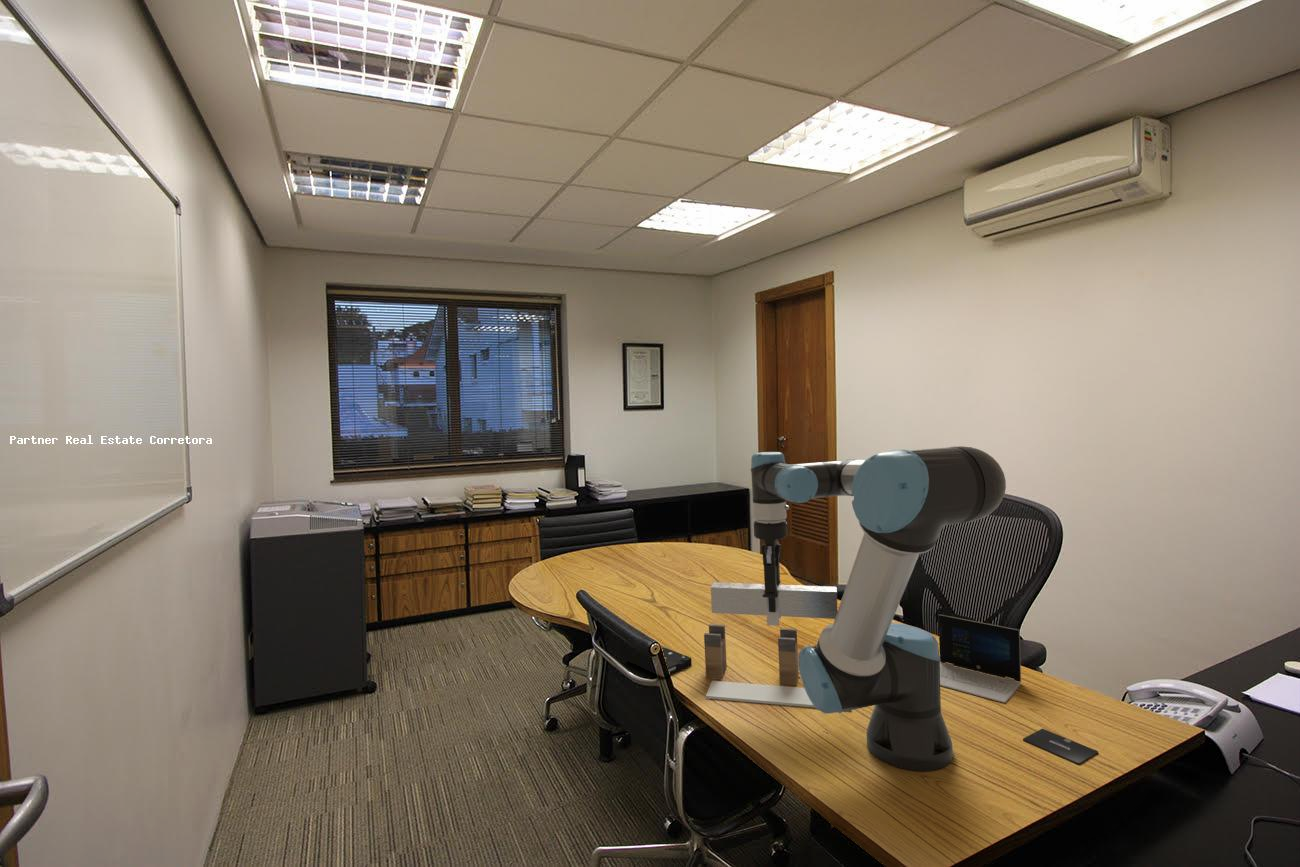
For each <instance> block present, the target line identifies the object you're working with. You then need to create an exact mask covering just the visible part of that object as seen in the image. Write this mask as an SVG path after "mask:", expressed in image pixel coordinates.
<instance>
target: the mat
mask: <svg viewBox="0 0 1300 867" xmlns="http://www.w3.org/2000/svg"><path fill="white" fill-rule="evenodd" d="M705 699H706V700H707V699H709V700H710V699H711V700H718V701H719V700H721V701H730V702H731V701H732V702H733V701H735V702H744V703H755V704H764V705H765V704H766V705H767V704H768V705H769V704H770V705H776V706H777V705H779V706H787V707H788V706H790V707H791V706H792V707H802V708H813V709H817V708H816V707H815V706H814V705H813V704H812V702H811V701H810V699H809V697H808V695H807V693H806V691H805V688H804V687H797V686H796V687H795V686H784V685H773V684H772V685H771V684H758V683H748V682H746V683H744V682H733V681H721V680H720V681H719V680H711V682H710V685H709V687H708V689H707V692H706V695H705ZM848 712H852V710H849V711H848Z"/></svg>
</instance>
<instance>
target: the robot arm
mask: <svg viewBox="0 0 1300 867" xmlns="http://www.w3.org/2000/svg"><path fill="white" fill-rule="evenodd" d="M786 462H787V461H786V460H785V455H784V453H783V452H780V451H763V452H756V453H753V454H752V456H751V462H750V465H751V466H750V473H751V490H752V491H751V492H752V518H753V519H754V520H755V521H754V522H753V537H754V538H756V539H758V540H763V541H764V543H762V546H761V555H762V565H763V578H764V584H765V594H763V597H766V612H767V616H766V626H773V627H775V626H776V627H780V620H781V618H782V616H779V600H778V594H777V585H781V574H780V573H781V572H780V562H781V551H782V550H781V549H782V548H781V544H780V542H779V541H778V540H783V539H786V538H787V537H788V535H789V534H788V533H789V532H788V522H787V520H786V519H787V518H788V517H787V516H788V514H787V510H790V506H789V505H787V502H790V503H799V504H800V503H802V504H803V503H806V502H808V501H810V500H811V499H820V498H826V497H841V496H842V497H843V496H844V497H845V496H847V497H853V499H852V501H851V505H852V509H853V512H854V514H855V517H856V519H857V520H858V523H859V526H860V528H861V530H862V532H863V536H862V539H861V542H860V545H859V547H858V550H857V554H856V556H855V560H854V562H853V565H852V569H851V571H850V574H849V577H848V579H847V580H848V581H847V582H846V586H845V589H844V592H843V595H842V597H841V600H840V604H839V606H838V608H837V615H836V618H835V619H834V621H833V623H830V624H828V625H826V626H825V627H824V628H823V629H822V631H821V633H820V634H819V638H818V640H817V642H816V645H813V646H811V645H807V646H806V647H803V648H802V649H800V651H799V653H798V672H799V676H800V679H801V683H802V685H803V688H805V691H806V693H807V695H808V697H809V699H810V701H811V702H812V704H813V705H814V706H815V707H816V708H815V709H817V710H818V711H820V712H821V713H823V714H834V713H837V714H838V713H839V714H841V713H843V712H850V711H849V710H853V711H854V710H859V709H862V708H863V709H864V708H868V707H872V706H873V710H872V713H871V716H870V720H869V722H868V725H867V729H866V745H867V748H868V750H869V751H870V752H871V753H872V754H873V756H875V757H876V758H878V759H879V760H881V761H882V762H885V764H887V765H891V766H894V767H897V768H901V769H903V770H904V769H905V770H908V771H909V770H910V771H920V772H926V771H927V772H928V771H935V770H940V769H942V768H944V767H946V766H948V765H949V764H951V762H952V761H953V757H954V756H953V755H954V753H953V752H954V751H953V749H954V748H953V746H954V745H953V742H952V738H951V736H950V733H949V730H948V728H947V725H946V723H945V719H944V717H943V714H942V706H941V705H942V704H941V703H942V702H941V699H942V698H941V686H940V663H941V662H940V648H939V641H938V640H937V639H936V637H935V636H934V635H933V634H931V633H930V632H928V631H927V630H924V629H922V628H920V627H917V626H913V625H909V624H906V623H905V624H904V623H899V622H893V620H894V617H895V615H896V613H897V610H898V608H899V605H900V602H901V600H902V598H903V595H904V593H905V590H906V588H907V586H908V583H909V580H910V578H911V576H912V573H913V571H914V569H915V567H916V563H917V561H918V559H919V556H920V555H921V554H925V553H928V552H929V551H931V550H933V548H934V547H935V546H936V544H937V541H938V539H939V537H940V535H941V532H942V530H943V528H944V527H945V526H948V525H949V526H950V525H957V524H965V523H971V522H972V523H973V522H975V521H978V520H981V519H984V518H985V517H988V516H989V515H991V514H992V513H993V512H994V511H996V510H997V509H998V508H999V506H1000V504H1001V503H1002V502H1003V500H1004V499H1003V498H1004V497H1005V494H1006V488H1007V487H1006V486H1007V485H1006V484H1007V483H1006V482H1007V481H1006V477H1005V472H1004V471H1003V469H1002V467H1001V465H1000V464H999V462H997V460H996V459H995V458H994V457H993V456H992V455H991V454H988V453H987V452H985V451H983V450H981V449H978V448H975V447H970V446H948V447H947V446H946V447H937V448H926V449H925V448H922V449H913V450H908V449H894V450H890V451H887V452H881V453H880V452H879V453H876V454H874V455H871V456H869V457H868V458H866V459H856V458H853V459H852V458H851V459H845V460H833V461H821V462H819V461H818V462H807V463H806V462H804V463H793V464H792V463H791V464H788V463H786Z"/></svg>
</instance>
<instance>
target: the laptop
mask: <svg viewBox="0 0 1300 867" xmlns="http://www.w3.org/2000/svg"><path fill="white" fill-rule="evenodd" d="M1020 632H1021V631H1020V629H1018V628H1012V627H1006V626H1001V625H997V624H991V623H985V622H981V621H975V620H971V619H964V618H960V617H957V616H956V617H955V616H949V615H946V614H945V615H944V614H938V636H939V637H938V640H939V641H938V648H939V657H940V687H944V688H947V689H951V690H954V691H959V692H962V693H965V694H969V695H973V696H976V697H979V698H983V699H988V700H992V701H995V702H999V703H1001V704H1006V703H1007V702H1008V701H1009V700H1010V698H1011V697H1012V696H1014V694H1015V692H1016V691H1017V690H1018V689H1019V687H1020V686H1021V685H1022V684H1021V682H1022V669H1021V668H1022V664H1021V663H1022V662H1021V633H1020Z"/></svg>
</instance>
